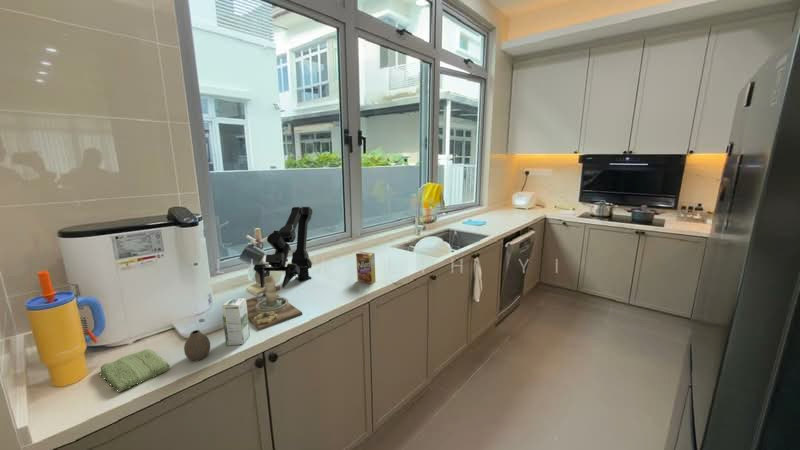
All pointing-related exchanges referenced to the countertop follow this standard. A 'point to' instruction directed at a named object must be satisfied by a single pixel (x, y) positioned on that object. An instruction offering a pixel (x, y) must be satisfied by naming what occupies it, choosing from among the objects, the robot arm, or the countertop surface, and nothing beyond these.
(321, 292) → the countertop surface
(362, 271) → the candy box
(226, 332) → the syrup box
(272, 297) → the gear
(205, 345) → the vase
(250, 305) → the gear board
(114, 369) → the washcloth
